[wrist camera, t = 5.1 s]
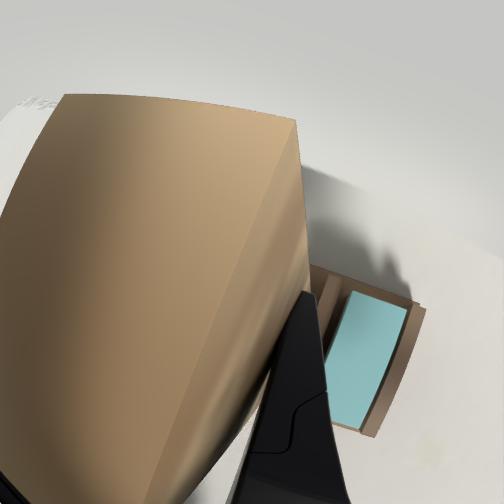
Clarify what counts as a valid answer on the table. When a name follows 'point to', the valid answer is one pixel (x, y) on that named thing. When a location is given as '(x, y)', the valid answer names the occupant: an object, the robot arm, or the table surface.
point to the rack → (329, 307)
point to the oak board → (143, 293)
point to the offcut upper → (360, 355)
